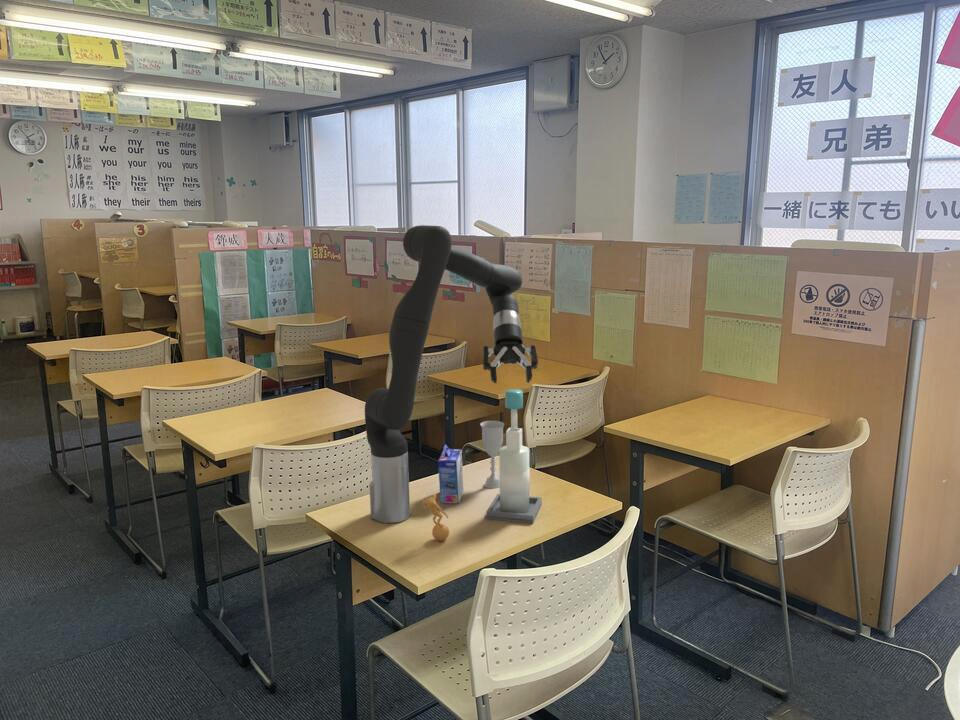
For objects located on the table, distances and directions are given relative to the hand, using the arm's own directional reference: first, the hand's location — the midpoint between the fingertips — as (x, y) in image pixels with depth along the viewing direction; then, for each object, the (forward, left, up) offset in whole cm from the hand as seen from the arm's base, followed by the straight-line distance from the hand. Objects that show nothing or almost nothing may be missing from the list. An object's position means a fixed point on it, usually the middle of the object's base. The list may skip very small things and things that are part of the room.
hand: (511, 381), depth 179 cm
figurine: (-12, -26, -34) cm, 44 cm away
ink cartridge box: (-17, +1, -34) cm, 38 cm away
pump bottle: (+2, -5, -33) cm, 34 cm away
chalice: (-8, +12, -34) cm, 37 cm away
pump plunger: (+2, -5, -11) cm, 12 cm away
